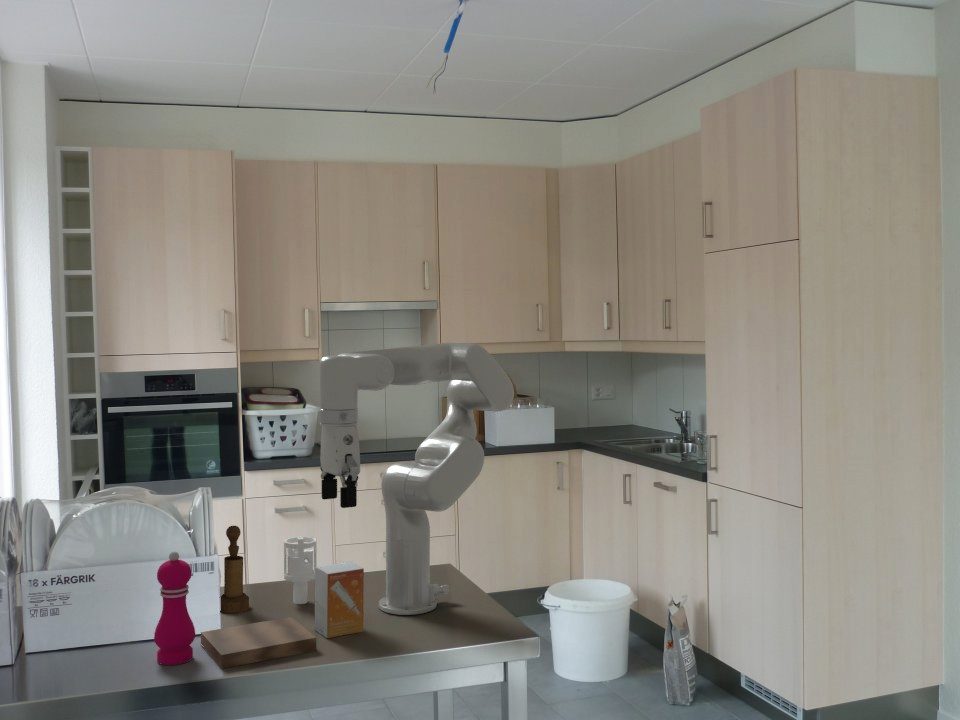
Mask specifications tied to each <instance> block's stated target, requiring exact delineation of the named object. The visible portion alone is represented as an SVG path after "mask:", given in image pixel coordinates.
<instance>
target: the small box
mask: <svg viewBox="0 0 960 720" xmlns="http://www.w3.org/2000/svg"><path fill="white" fill-rule="evenodd" d="M364 573H365V569H364V567H362V566H360V565H358V564H357V563H354V562H353V561H348V562H342V563H331V564H326V565H321V566H316V567H315V579H314V631H316V632H317V633H318V634H320V635H322V636H323V637H324V638H326V639H330V638H335V637H340V636H346V635H350V634H357V633H363V632H364V604H365V603H364V597H365V595H364V591H365V590H364V588H365V586H364V585H365V584H364V582H365V581H364V580H365V579H364V577H365V576H364V575H365V574H364Z"/></svg>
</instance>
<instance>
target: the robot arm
mask: <svg viewBox="0 0 960 720" xmlns="http://www.w3.org/2000/svg"><path fill="white" fill-rule="evenodd" d="M318 372H319V376H318V377H319V381H318V382H319V384H318V385H319V387H318V388H319V390H318V391H319V392H318V393H319V426H321V436H320V455H319V460H320V461H319V462H320V468H319V469H320V472H321V474H320V478H321V499H322V500H323V501H324V500H332V499H333V500H334V499H337V498H338V478H336V477H339V480H340V483H341V487H340V488H339V489H340V491H339V492H340V496H339V497H340V499H339V501H340V504H339V505H340V508H342V509H346V508H356V507H357V503H358V500H357V499H358V497H357V495H358V494H357V491H358V490H357V487H358V480H359V474H360V472H361V454H360V453H361V452H360V439H359V431H358V427H357V426H358V425H359V423H358V421H359V420H358V419H359V417H358V416H359V415H358V411H359V410H358V398H359V397H358V393H359V392H358V391H360V390H361V391H370V392H371V391H372V392H376V391H382V390H384V389H386V388H387V387H389V386H391V385H392V386H419V385H426V384H432V383H440V382H445V381H447V382H448V381H449V382H448V383H449V384H448V386H447V389H446V415H445V418H444V419H443V420H442V422H440V424H439V425H437V427H436V428H435V429H434V430H433V431H432V432H431V433H430V434H429V435H427V437H426V438H425V439H424V440H423V441H422V442H421V443H420V445H419V446H418V448H417V449H416V452H415V455H414V461H415V462H412V461H411V462H409V461H399V462H395V463H393V464H391V465H389V466H388V468H387V467H386V469H385V471H384V472H383V475H382V477H381V478H382V479H381V485H380V487H381V495H382V498H383V503H384V512H385V596H384V597H382V598H381V599H380V600H379V601H378V608H379V610H381V611H383V612H384V613H387V614H392V615H398V616H399V615H400V616H413V615H421V614H424V613H428V612H431V611H433V610H435V609H436V608H437V604H438V602H437V599H436V597H437V596H439V595H445V594H449V593H450V591H451V590H450V586H449V584H444V585H443V584H442V585H440V584H438V583H430V582H431V581H430V580H431V577H430V576H431V572H430V570H431V569H430V567H431V566H430V565H431V564H430V563H431V561H430V560H431V559H430V558H431V557H430V556H431V552H430V551H431V539H430V537H431V527H430V521H429V518H428V513H427V512H426V511H428V512H434V513H435V512H439V513H440V512H445V511H446V510H449V509H450V508H451V507H452V506H453V505H455V503H457V501H458V500H459V499H460V498H461V497H462V496H463V495H464V493H465V492H466V491H467V490H468V489H469V488H470V487H471V486H472V484H473V483H475V481H476V480H477V478H478V477H479V475H480V474H481V472H482V470H483V467H484V463H485V450H484V449H483V446H482V444H481V443H480V442H479V441H478V440H477V439H476V437H477V434H478V433H477V432H478V429H477V423H476V421H475V415H474V411H485V412H497V413H498V412H503V411H506V410H507V409H509V407H511V405H512V404H513V402H514V397H515V389H514V384H513V383H512V381H511V378H510V377H509V376H508V374H506V372H505V370H504V369H503V368H502V367H501V365H500V364H499V362H497V360H496V359H495V358H494V356H492V354H491V353H490V352H489V351H488V350H487V349H485V348H484V347H483V346H482V345H480V344H477V343H467V342H466V343H463V342H461V343H460V342H445V343H444V342H443V343H442V342H441V343H434V344H423V345H409V346H402V347H392V348H384V349H383V348H382V349H372V350H359V351H349V352H348V351H347V352H341V353H340V354H338V355H325V356H323V357H322V358H321V359H320V361H319V370H318Z"/></svg>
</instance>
